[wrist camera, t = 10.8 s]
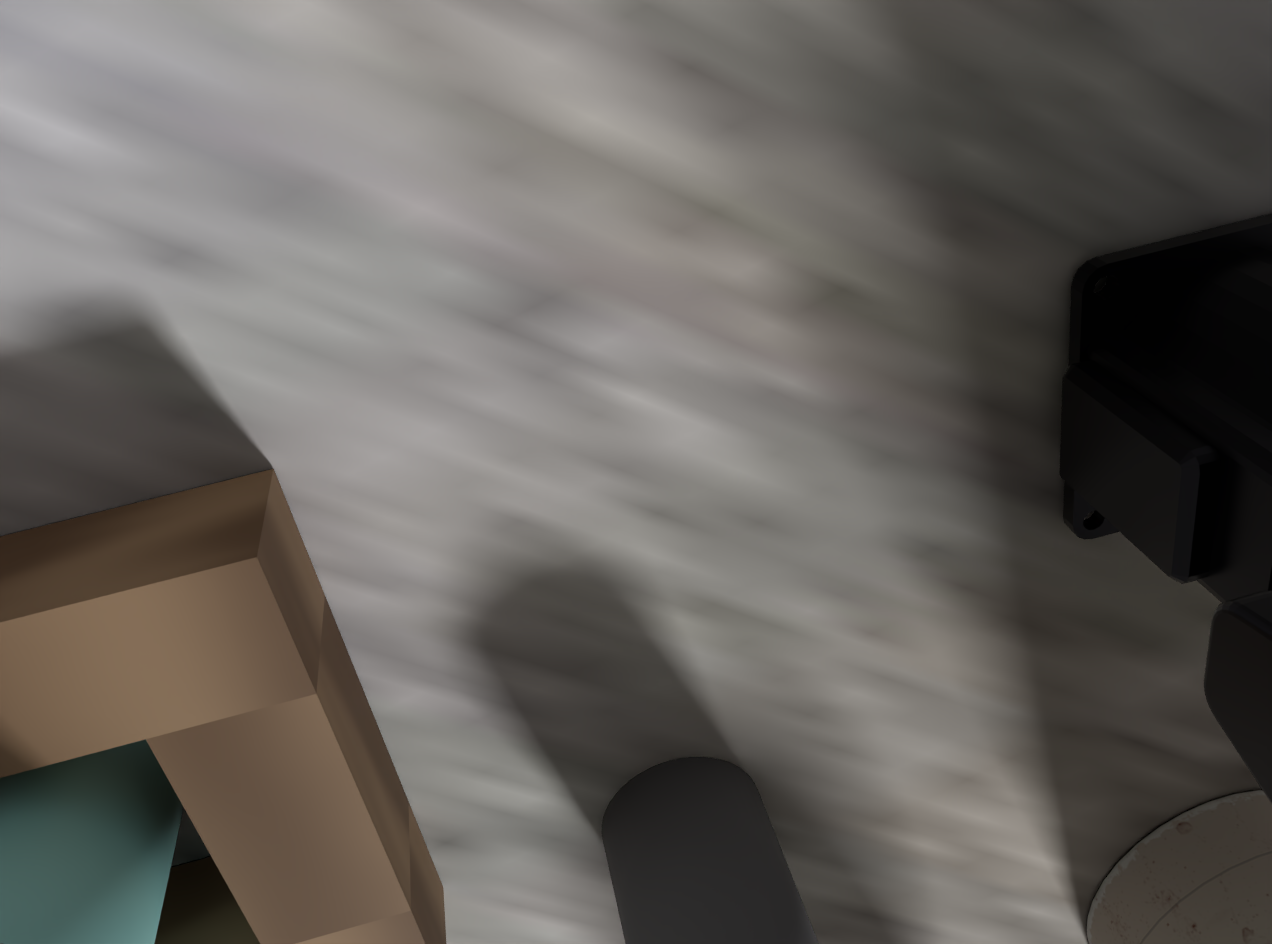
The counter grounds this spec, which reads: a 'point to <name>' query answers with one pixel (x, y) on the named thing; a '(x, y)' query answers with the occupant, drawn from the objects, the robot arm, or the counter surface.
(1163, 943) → the thermos bottle
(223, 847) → the socket block
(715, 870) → the black dowel
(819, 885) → the counter surface
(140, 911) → the peg
